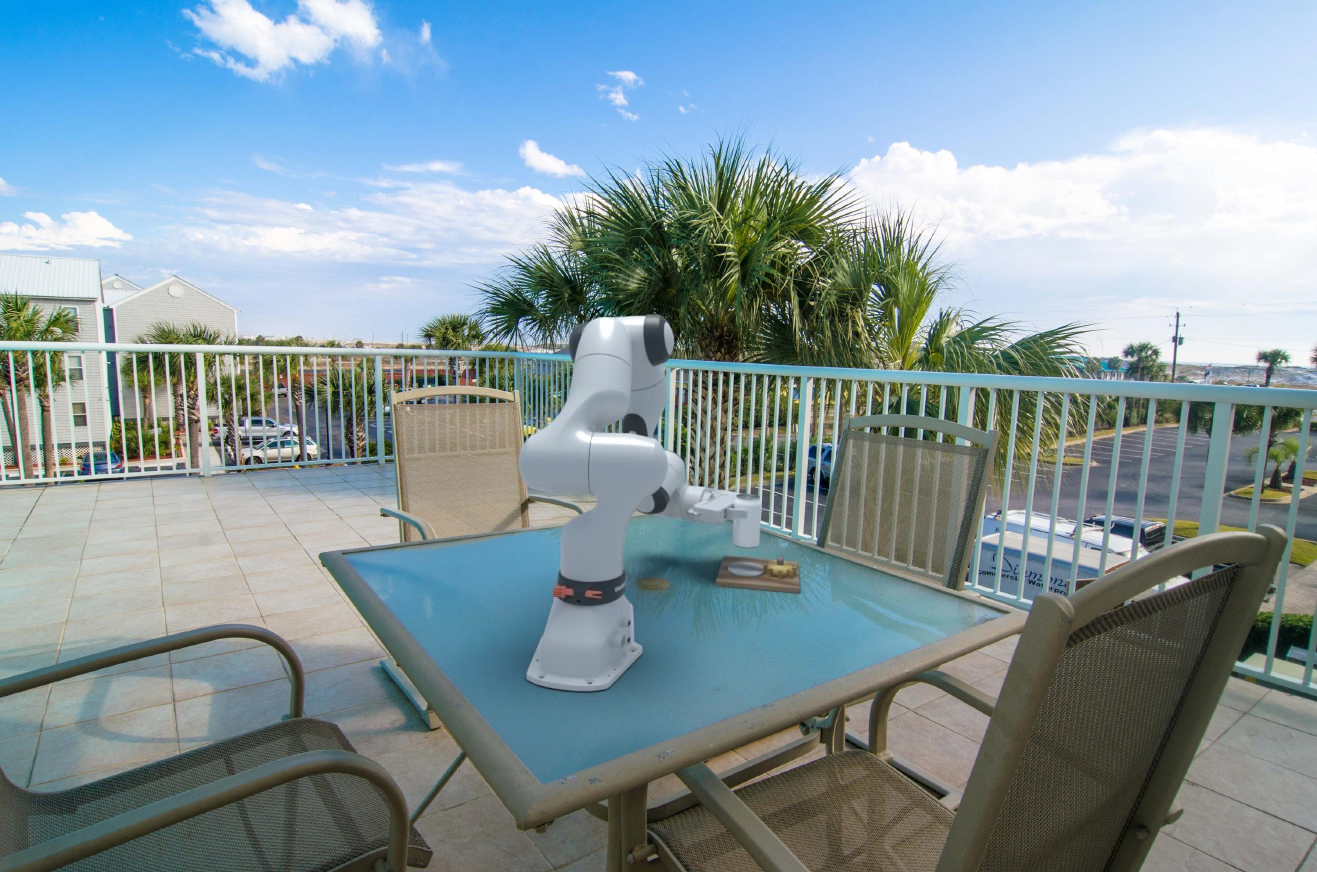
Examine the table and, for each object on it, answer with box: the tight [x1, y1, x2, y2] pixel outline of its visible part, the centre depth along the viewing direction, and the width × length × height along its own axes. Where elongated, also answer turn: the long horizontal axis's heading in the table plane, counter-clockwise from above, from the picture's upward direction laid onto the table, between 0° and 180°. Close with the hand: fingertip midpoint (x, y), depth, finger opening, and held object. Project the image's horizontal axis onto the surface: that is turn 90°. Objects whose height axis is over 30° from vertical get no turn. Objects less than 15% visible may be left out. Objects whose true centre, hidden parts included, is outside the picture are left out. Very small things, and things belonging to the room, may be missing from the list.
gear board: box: [715, 554, 801, 594], centre depth 157 cm, size 20×19×6 cm
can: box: [732, 493, 762, 549], centre depth 155 cm, size 6×6×12 cm
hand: (752, 511), depth 155 cm, fingers closed on can, 5 cm apart
